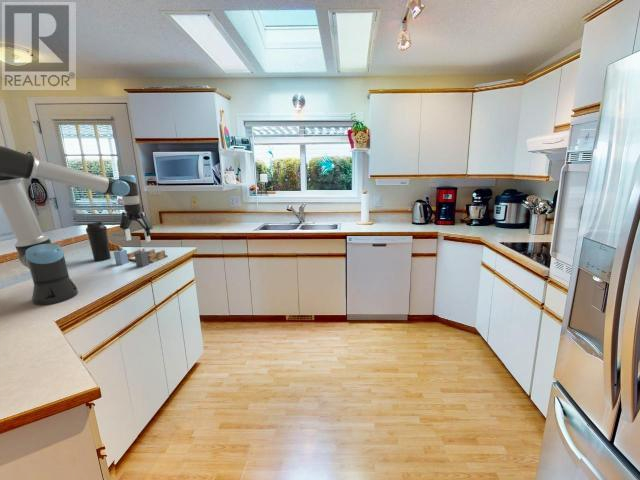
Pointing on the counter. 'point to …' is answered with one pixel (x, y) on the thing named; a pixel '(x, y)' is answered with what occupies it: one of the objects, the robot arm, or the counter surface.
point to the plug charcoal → (141, 258)
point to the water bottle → (98, 241)
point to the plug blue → (121, 256)
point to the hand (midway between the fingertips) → (138, 241)
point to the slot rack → (149, 255)
